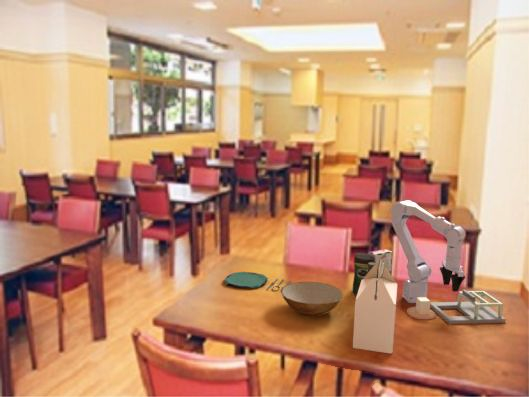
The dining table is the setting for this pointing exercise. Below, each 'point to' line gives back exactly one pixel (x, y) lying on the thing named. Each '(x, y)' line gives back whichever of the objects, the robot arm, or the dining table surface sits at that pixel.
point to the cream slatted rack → (483, 303)
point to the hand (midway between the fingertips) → (450, 287)
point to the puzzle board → (467, 313)
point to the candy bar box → (383, 257)
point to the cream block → (422, 305)
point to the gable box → (375, 311)
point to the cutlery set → (249, 280)
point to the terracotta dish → (415, 314)
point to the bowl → (311, 297)
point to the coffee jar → (361, 269)
